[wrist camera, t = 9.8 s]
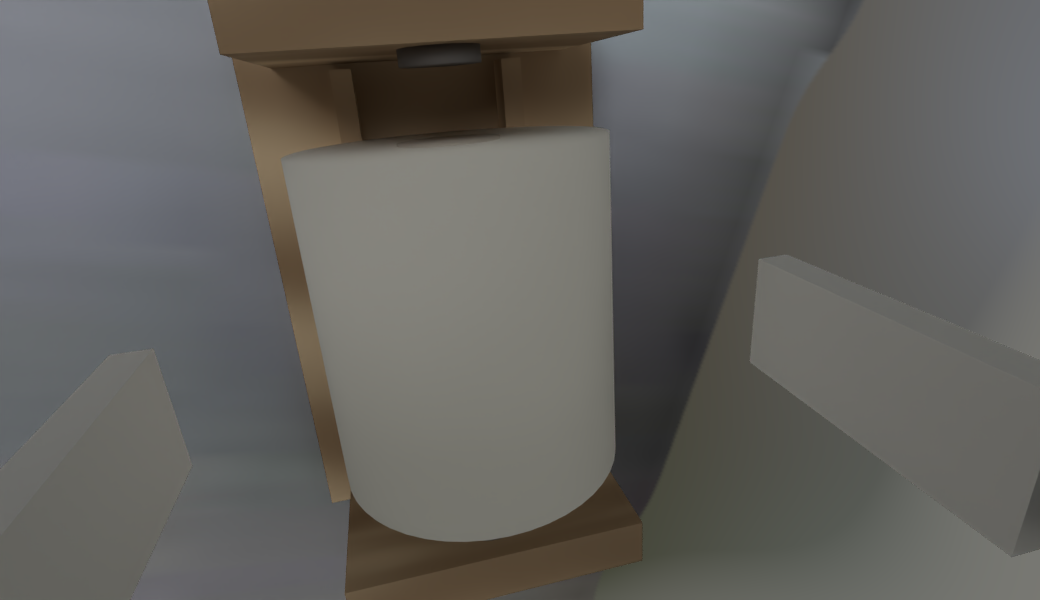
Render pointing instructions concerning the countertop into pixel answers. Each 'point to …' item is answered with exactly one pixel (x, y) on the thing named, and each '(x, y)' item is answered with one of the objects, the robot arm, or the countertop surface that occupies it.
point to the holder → (408, 111)
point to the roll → (464, 321)
